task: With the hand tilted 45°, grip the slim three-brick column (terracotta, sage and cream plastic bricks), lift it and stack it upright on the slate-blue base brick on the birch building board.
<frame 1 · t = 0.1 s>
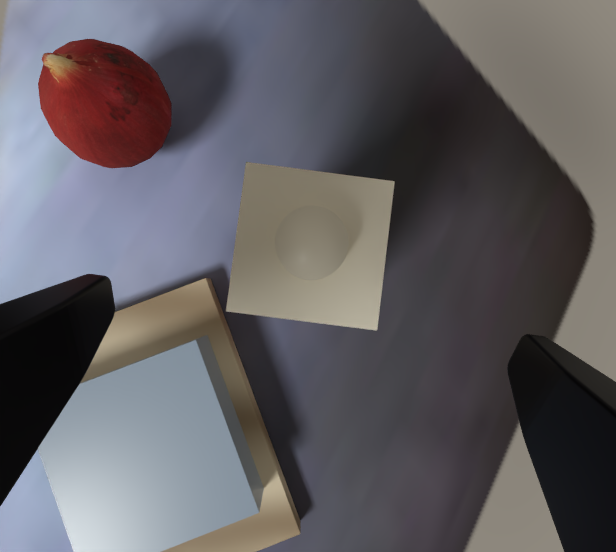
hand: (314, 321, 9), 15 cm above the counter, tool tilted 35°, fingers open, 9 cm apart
building board: (166, 433, 23), on the counter
onion: (141, 137, 24), on the counter
base brick: (150, 449, 21), on the building board, point 2 cm above the counter
brick column: (306, 269, 23), on the counter
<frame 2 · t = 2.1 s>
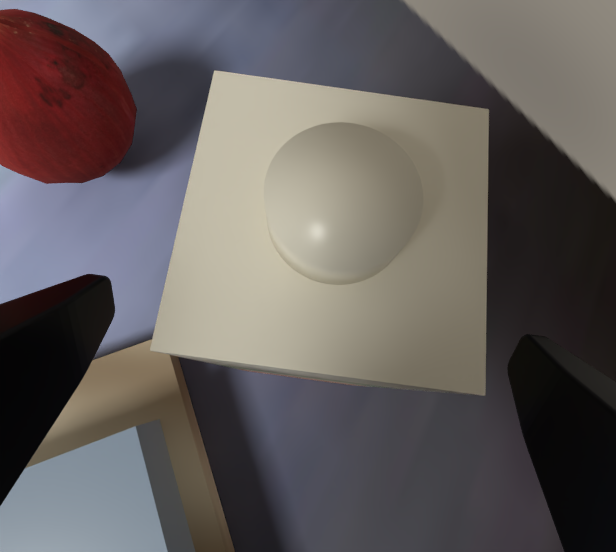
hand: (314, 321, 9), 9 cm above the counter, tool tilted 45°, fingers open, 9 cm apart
onion: (99, 160, 19), on the counter
brick column: (305, 326, 17), on the counter
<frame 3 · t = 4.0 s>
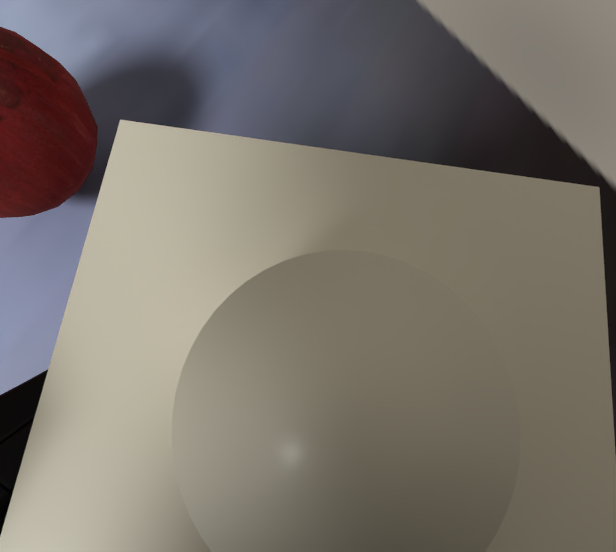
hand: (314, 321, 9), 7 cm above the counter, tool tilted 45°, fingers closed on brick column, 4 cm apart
onion: (60, 183, 16), on the counter
brick column: (299, 382, 15), on the counter, touching gripper
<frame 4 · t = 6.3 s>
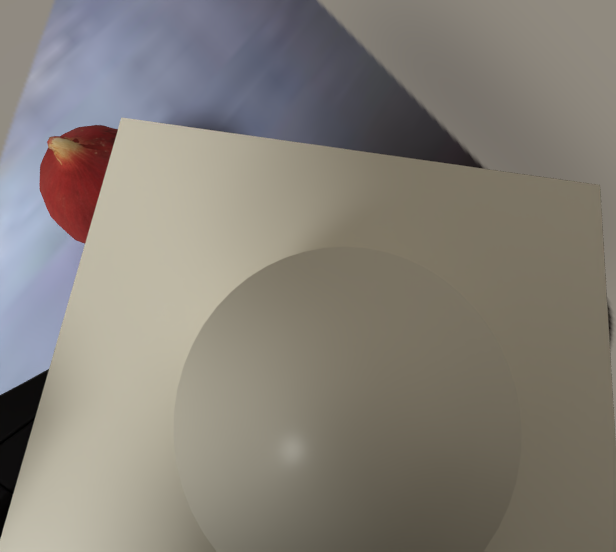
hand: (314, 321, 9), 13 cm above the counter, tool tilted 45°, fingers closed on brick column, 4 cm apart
onion: (141, 220, 23), on the counter
brick column: (299, 381, 15), point 7 cm above the counter, touching gripper
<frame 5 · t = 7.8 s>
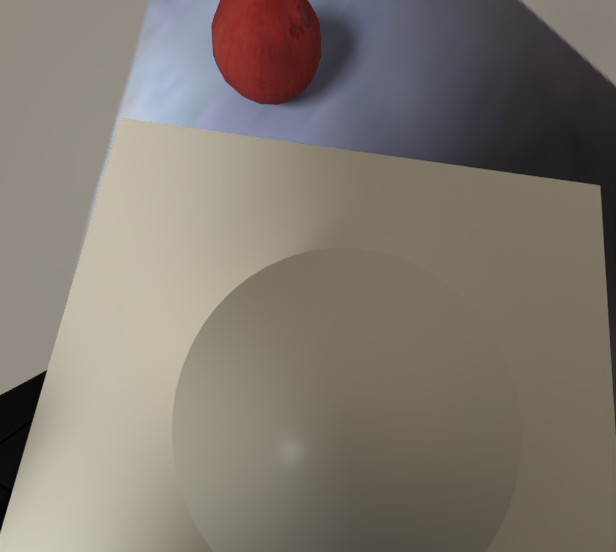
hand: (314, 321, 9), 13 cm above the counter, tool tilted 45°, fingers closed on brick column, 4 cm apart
onion: (270, 94, 25), on the counter
brick column: (299, 382, 15), point 6 cm above the counter, touching gripper
when the fingers open (11 cm above the counter, at t = 8.9 s): brick column drops 1 cm, resting on base brick.
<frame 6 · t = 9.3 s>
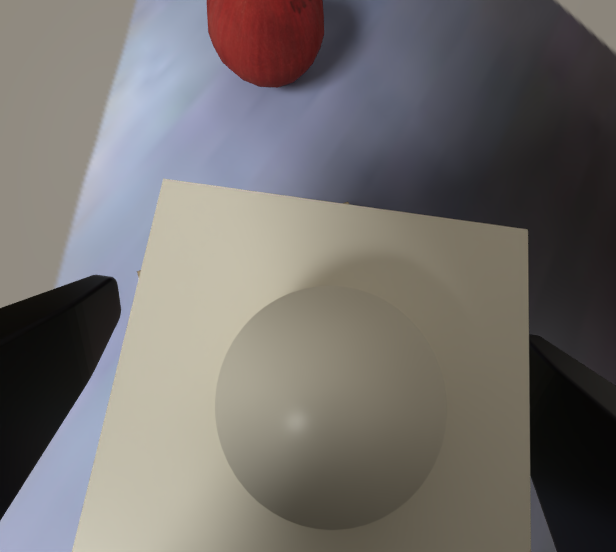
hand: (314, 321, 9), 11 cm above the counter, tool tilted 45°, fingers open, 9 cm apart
onion: (270, 78, 24), on the counter
brick column: (299, 380, 16), point 4 cm above the counter, touching base brick
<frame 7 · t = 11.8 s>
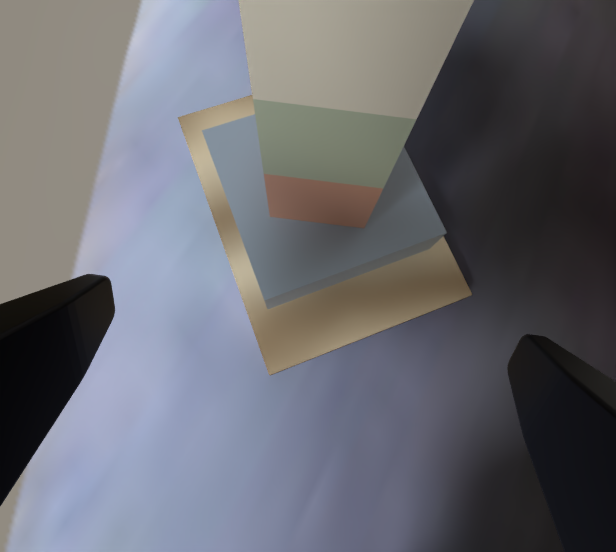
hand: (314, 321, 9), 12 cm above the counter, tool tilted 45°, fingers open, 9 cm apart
building board: (317, 211, 22), on the counter
base brick: (319, 191, 20), on the building board, point 2 cm above the counter
brick column: (322, 179, 19), point 4 cm above the counter, touching base brick
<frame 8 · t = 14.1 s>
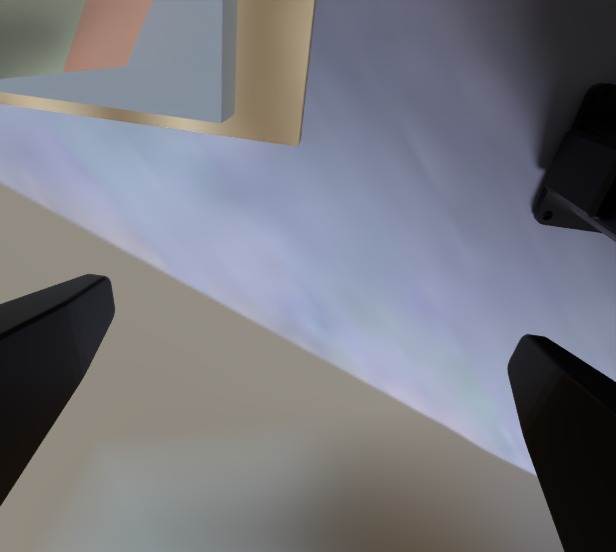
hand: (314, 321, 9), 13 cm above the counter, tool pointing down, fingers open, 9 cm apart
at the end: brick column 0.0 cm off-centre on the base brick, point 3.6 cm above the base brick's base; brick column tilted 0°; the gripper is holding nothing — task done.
